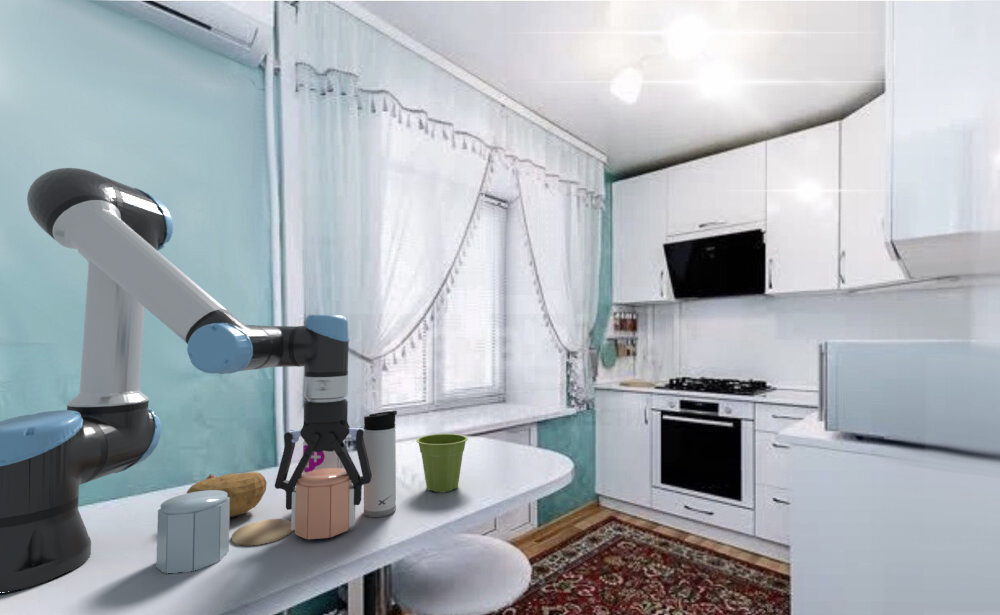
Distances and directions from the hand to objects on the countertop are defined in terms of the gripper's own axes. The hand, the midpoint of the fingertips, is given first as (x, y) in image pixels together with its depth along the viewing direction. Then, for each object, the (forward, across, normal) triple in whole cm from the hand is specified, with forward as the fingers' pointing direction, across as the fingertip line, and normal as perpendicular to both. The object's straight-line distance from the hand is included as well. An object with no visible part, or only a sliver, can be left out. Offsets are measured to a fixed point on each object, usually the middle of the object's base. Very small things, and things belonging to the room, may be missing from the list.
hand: (323, 524), depth 83 cm
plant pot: (+1, +22, +20) cm, 30 cm away
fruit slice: (+2, -28, +23) cm, 36 cm away
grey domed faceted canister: (+1, -19, -6) cm, 20 cm away
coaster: (+1, -11, +2) cm, 11 cm away
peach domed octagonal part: (0, 0, 0) cm, 0 cm away
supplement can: (+2, -3, +14) cm, 14 cm away
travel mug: (+1, +9, +8) cm, 12 cm away
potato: (+2, -21, +12) cm, 24 cm away
